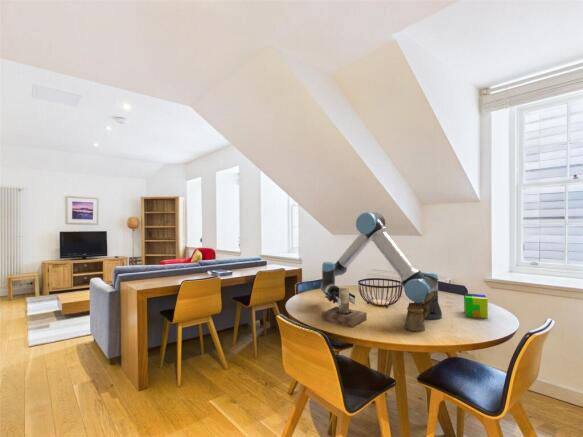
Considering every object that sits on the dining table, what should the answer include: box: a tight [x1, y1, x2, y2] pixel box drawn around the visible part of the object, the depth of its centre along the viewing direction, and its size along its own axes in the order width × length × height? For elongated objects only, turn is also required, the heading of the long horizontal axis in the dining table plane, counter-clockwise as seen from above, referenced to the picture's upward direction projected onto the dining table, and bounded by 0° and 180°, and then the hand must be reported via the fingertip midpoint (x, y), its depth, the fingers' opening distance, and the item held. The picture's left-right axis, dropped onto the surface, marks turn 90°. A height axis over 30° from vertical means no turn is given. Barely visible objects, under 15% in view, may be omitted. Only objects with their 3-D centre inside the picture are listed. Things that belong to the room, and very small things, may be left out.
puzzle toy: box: [463, 293, 489, 319], centre depth 171 cm, size 10×10×10 cm
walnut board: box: [321, 306, 368, 328], centre depth 162 cm, size 18×14×4 cm
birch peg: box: [338, 287, 350, 315], centre depth 162 cm, size 5×5×16 cm
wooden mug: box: [404, 291, 436, 333], centre depth 148 cm, size 9×14×18 cm, turn 90°
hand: (347, 302), depth 157 cm, fingers open, 7 cm apart
